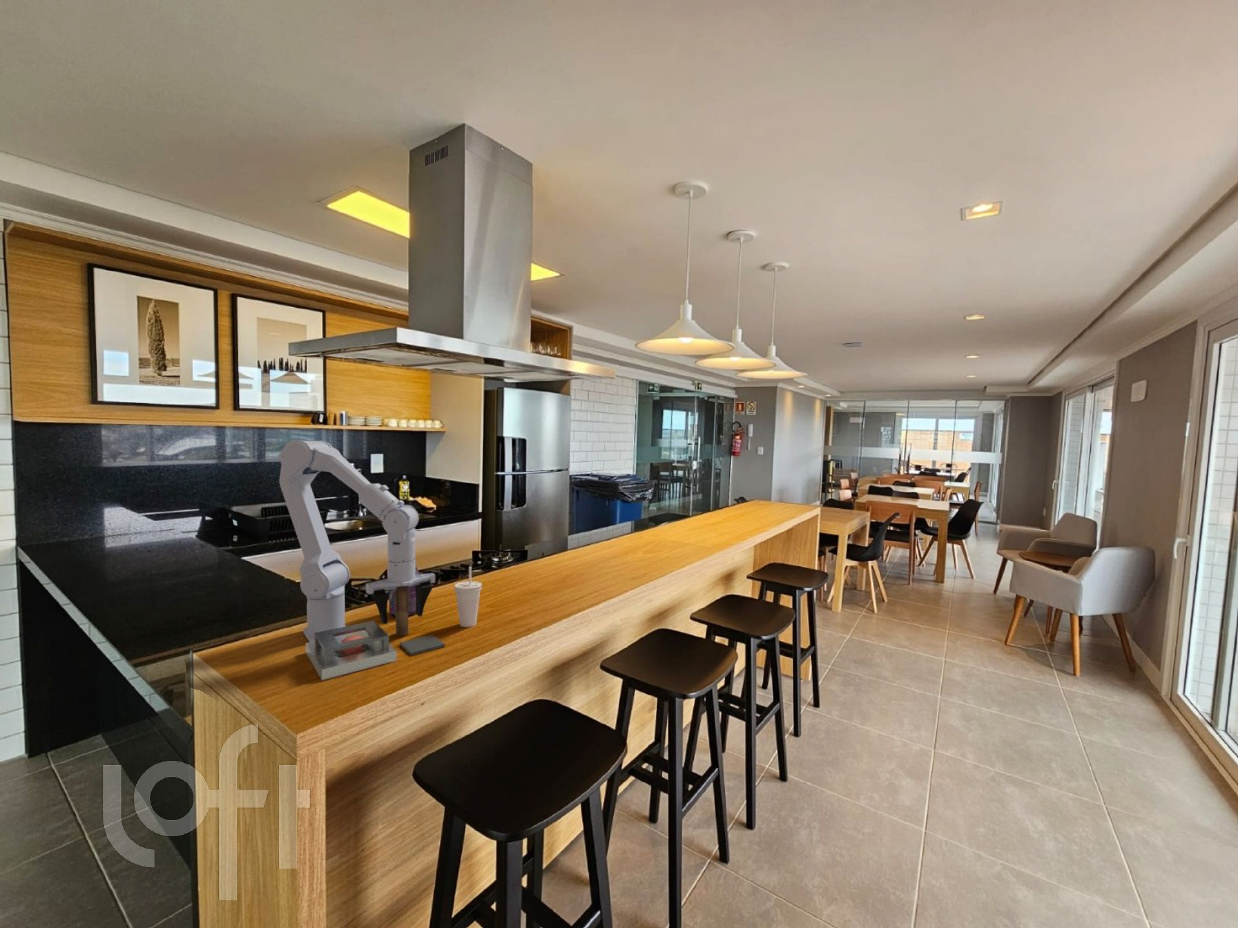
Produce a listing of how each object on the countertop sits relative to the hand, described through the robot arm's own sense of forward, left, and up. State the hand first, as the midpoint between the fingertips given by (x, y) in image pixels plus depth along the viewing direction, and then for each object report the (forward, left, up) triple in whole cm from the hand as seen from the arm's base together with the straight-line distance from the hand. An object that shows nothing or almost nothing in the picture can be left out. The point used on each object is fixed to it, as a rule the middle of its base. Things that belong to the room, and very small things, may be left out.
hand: (402, 618), depth 113 cm
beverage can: (-14, +5, -4) cm, 15 cm away
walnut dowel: (0, 0, -3) cm, 3 cm away
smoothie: (+4, +14, -4) cm, 15 cm away
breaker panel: (+6, -12, -3) cm, 14 cm away
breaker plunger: (+7, -12, -2) cm, 14 cm away
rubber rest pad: (+10, +1, -3) cm, 11 cm away
